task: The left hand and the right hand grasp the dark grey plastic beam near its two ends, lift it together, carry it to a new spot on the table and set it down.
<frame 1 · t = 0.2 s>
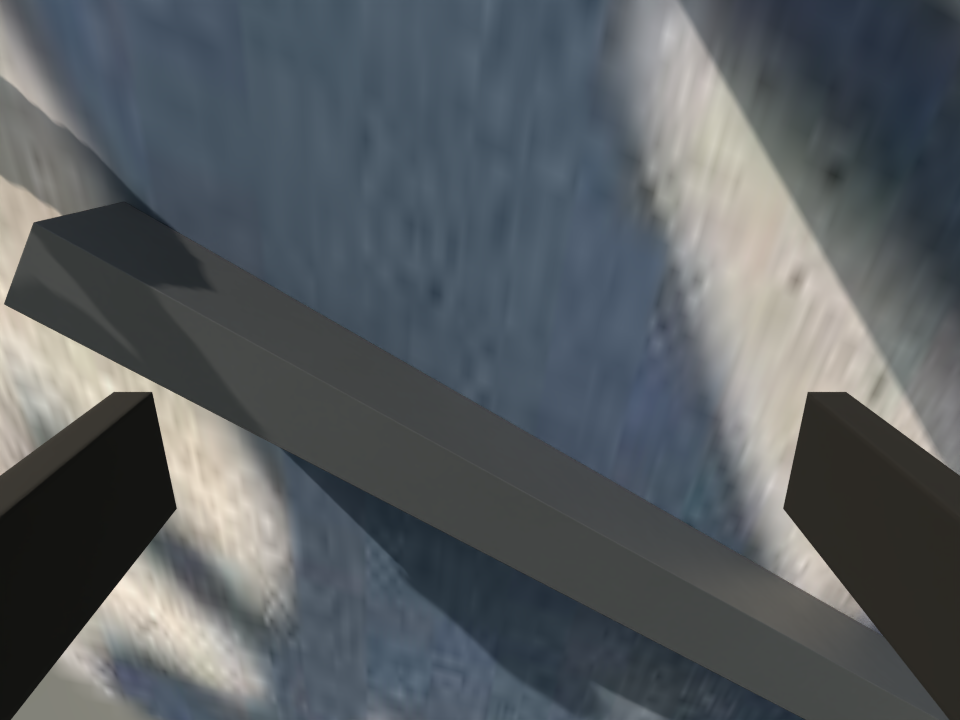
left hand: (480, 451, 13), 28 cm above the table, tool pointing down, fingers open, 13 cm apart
beam: (559, 487, 45), on the table
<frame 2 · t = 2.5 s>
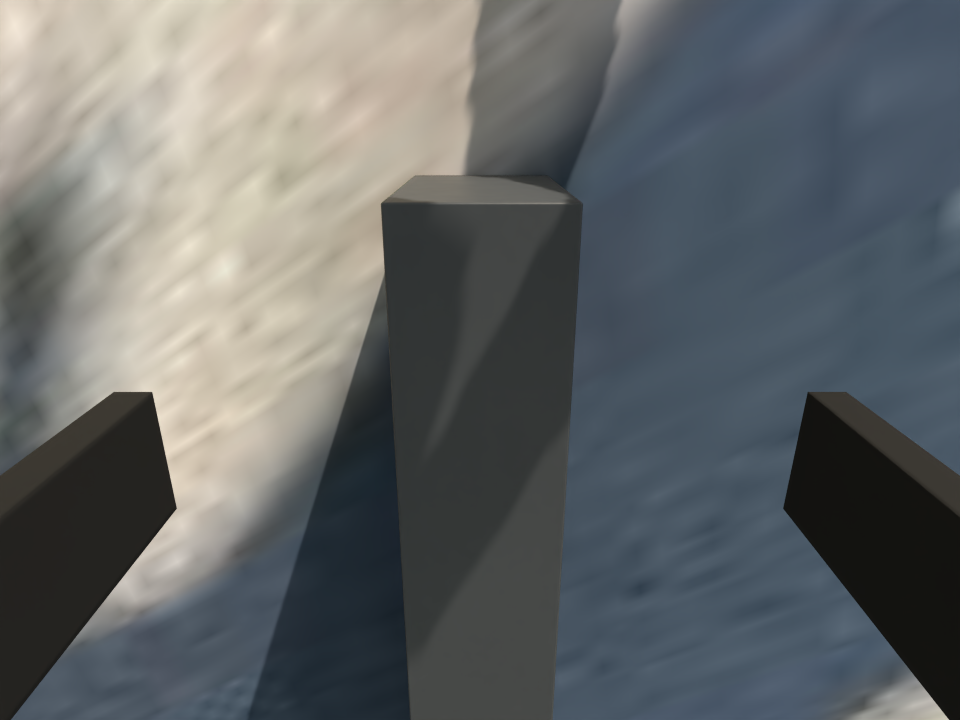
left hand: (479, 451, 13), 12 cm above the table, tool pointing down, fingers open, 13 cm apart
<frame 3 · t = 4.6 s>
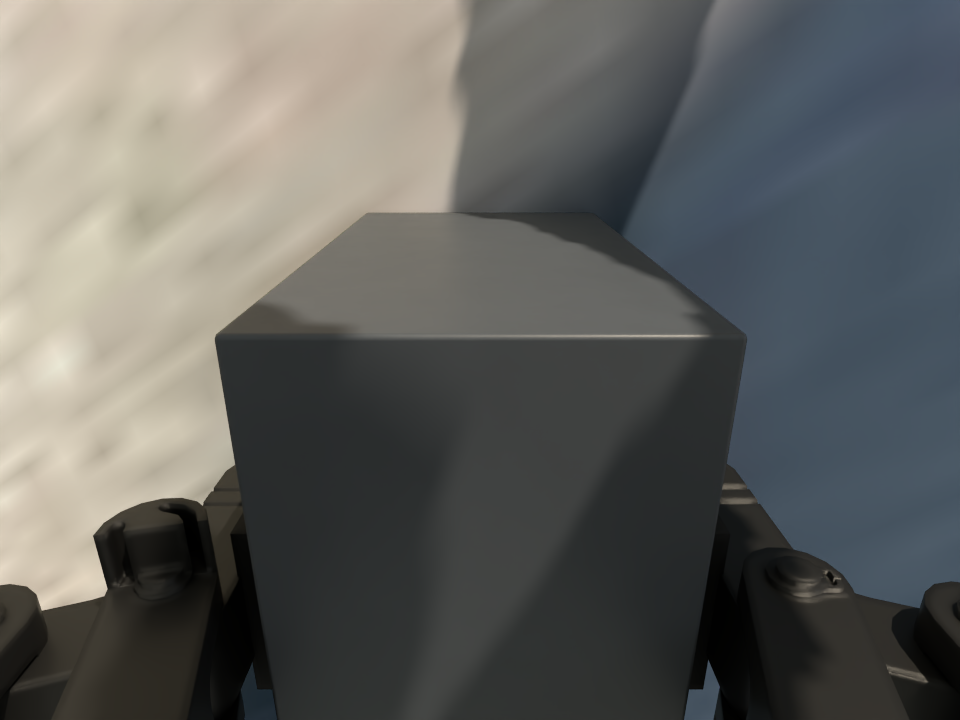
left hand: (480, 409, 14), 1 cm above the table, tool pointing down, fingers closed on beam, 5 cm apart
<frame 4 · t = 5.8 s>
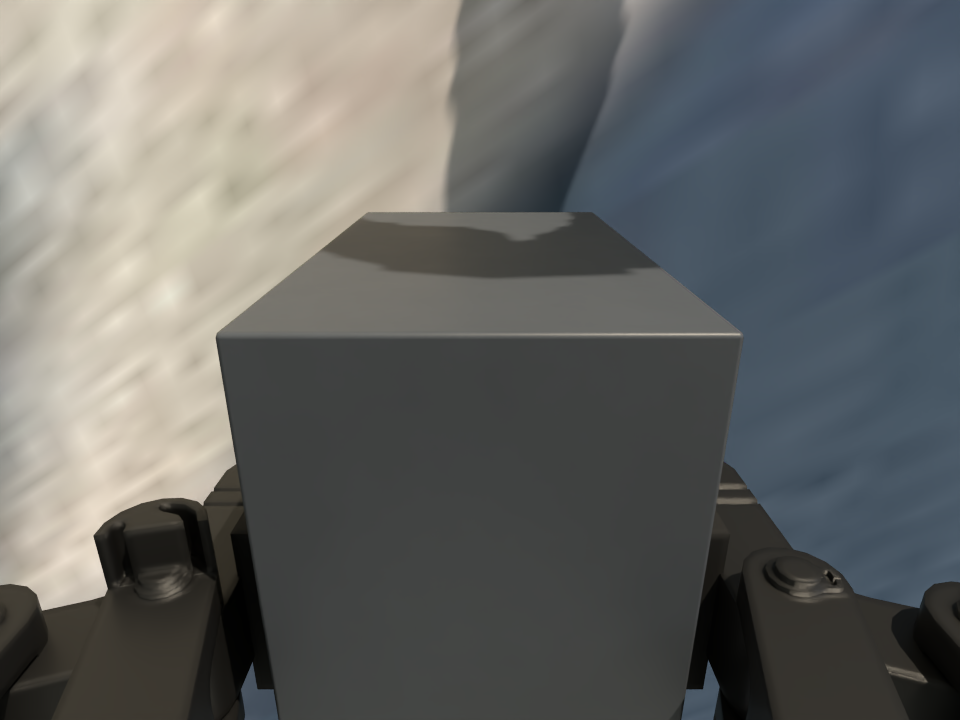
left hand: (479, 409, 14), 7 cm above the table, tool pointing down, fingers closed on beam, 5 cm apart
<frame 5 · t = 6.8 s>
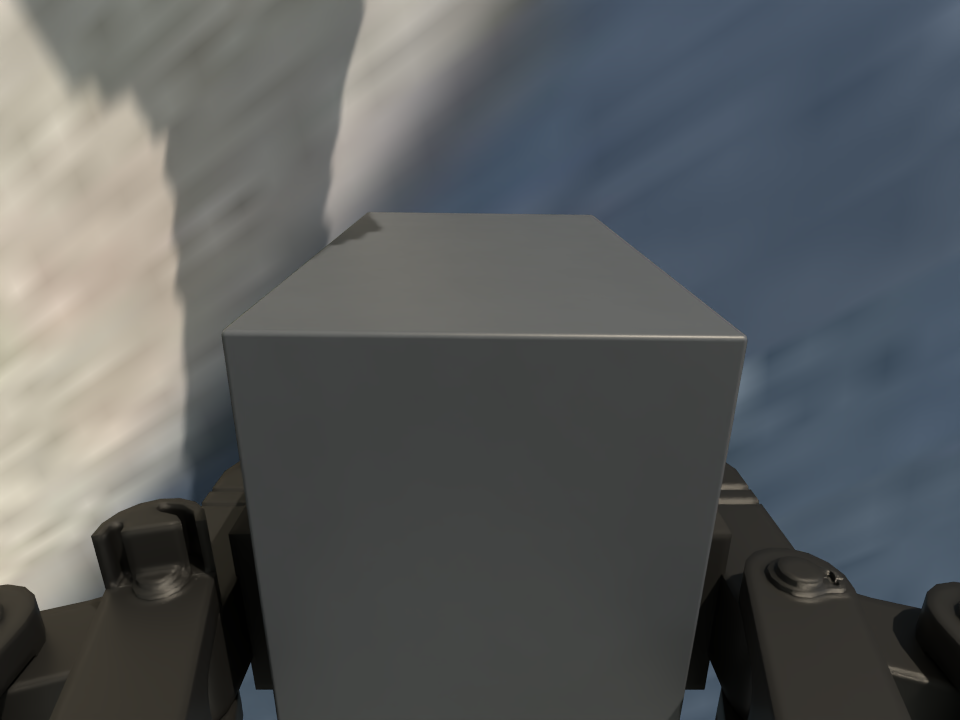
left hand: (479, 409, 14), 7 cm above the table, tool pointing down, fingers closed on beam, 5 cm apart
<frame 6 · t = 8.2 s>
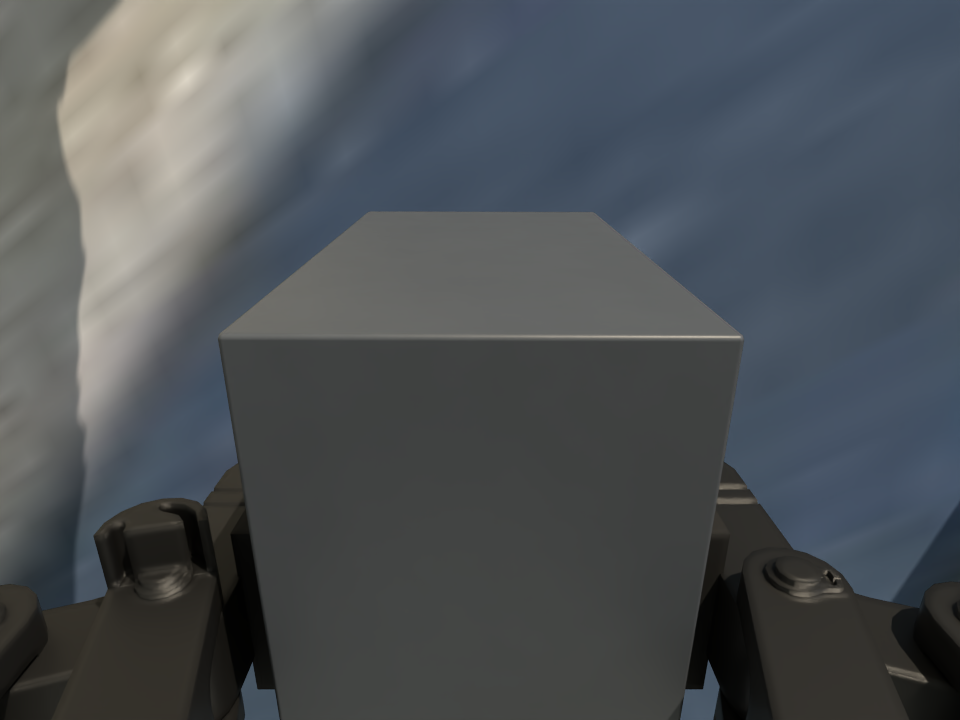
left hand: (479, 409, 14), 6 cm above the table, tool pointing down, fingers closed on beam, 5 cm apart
when the left hand's fingers open (2 cm above the table, at t = 9.0 s): beam drops 1 cm, on the table.
when the right hand's fingers open (5 cm above the table, at t = 9.2 s): beam stays where it is, on the table.
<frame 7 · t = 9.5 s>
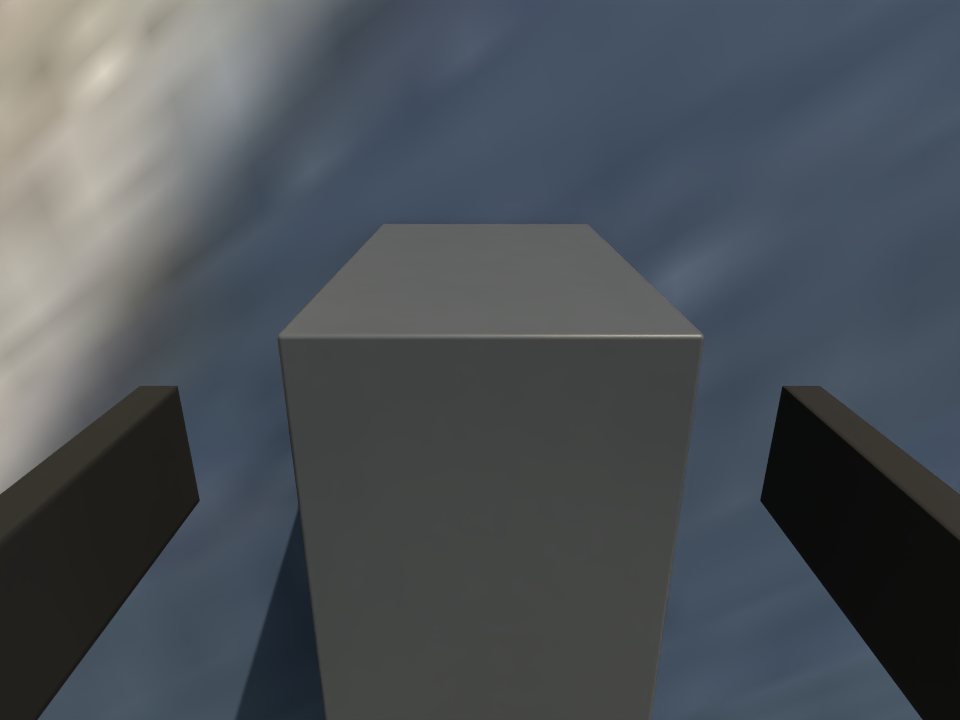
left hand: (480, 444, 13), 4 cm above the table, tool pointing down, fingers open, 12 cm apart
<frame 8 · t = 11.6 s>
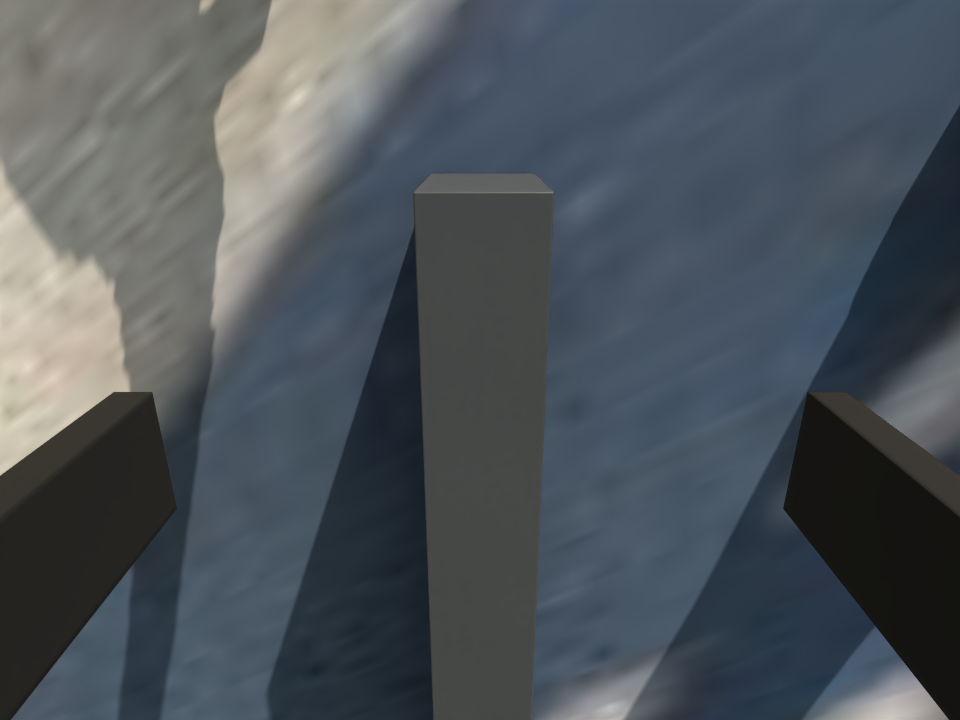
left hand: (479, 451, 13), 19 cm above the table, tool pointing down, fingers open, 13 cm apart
beam: (481, 702, 42), on the table
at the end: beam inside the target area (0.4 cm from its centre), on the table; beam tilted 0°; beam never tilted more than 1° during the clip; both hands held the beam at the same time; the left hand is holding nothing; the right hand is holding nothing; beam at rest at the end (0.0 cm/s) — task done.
